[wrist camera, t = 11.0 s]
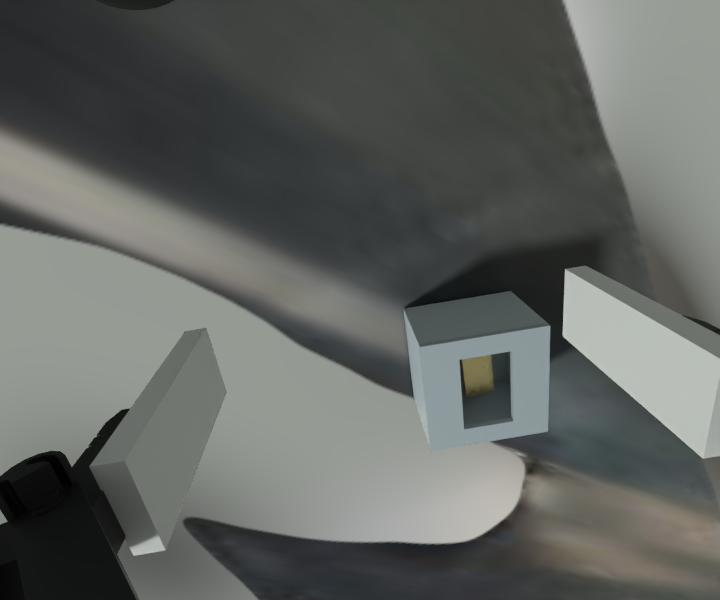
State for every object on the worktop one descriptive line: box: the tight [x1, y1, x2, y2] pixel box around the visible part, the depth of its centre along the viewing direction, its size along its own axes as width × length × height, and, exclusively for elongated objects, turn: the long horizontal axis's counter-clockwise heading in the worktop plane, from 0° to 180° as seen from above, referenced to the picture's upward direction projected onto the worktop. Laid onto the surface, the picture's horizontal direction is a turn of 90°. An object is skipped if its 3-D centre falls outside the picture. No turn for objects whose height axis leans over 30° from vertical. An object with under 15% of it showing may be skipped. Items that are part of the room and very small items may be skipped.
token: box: [459, 355, 494, 397], centre depth 46 cm, size 5×3×5 cm, turn 11°
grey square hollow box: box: [403, 291, 550, 451], centre depth 45 cm, size 12×12×9 cm
